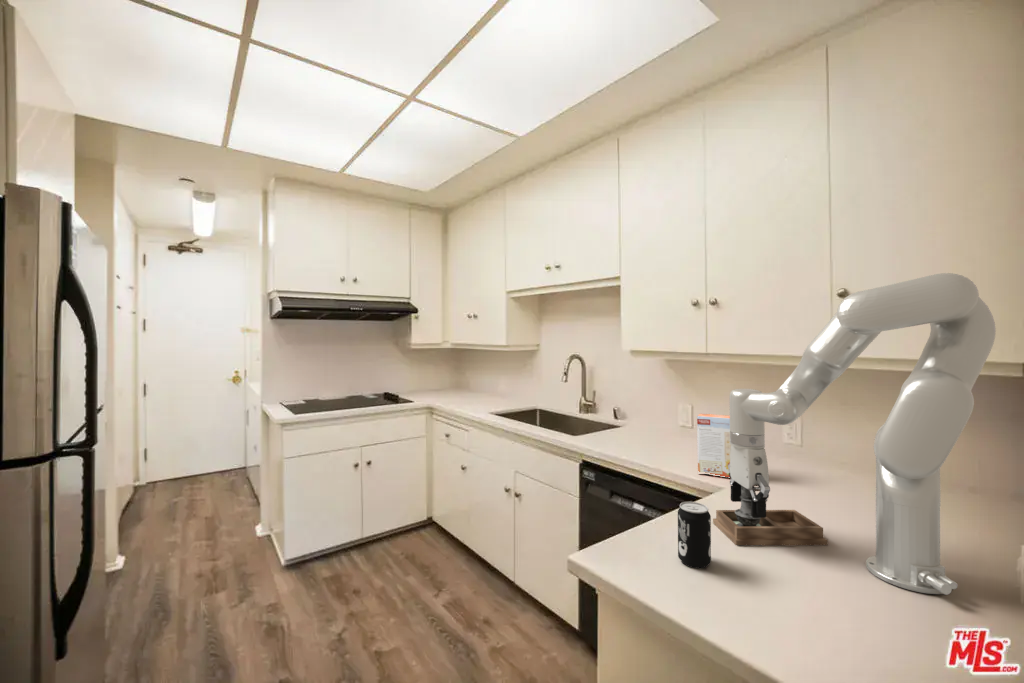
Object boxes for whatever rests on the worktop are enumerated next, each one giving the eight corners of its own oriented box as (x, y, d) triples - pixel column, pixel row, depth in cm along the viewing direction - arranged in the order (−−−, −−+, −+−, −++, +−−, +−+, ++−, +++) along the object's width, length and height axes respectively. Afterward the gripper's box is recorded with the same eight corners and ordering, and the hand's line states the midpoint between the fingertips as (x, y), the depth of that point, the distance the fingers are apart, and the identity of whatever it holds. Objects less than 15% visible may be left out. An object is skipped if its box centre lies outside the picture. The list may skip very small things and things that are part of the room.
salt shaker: (765, 534, 102) (765, 484, 102) (739, 532, 103) (738, 482, 103) (756, 523, 108) (756, 476, 108) (731, 522, 109) (731, 475, 109)
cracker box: (743, 476, 148) (743, 415, 148) (742, 481, 143) (742, 418, 143) (700, 469, 155) (699, 412, 155) (697, 474, 150) (696, 415, 150)
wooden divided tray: (794, 522, 111) (794, 508, 111) (827, 545, 99) (827, 529, 99) (713, 523, 112) (712, 508, 112) (736, 545, 100) (736, 529, 100)
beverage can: (708, 573, 88) (708, 515, 88) (675, 564, 92) (674, 508, 92) (712, 558, 94) (712, 504, 94) (681, 551, 97) (680, 498, 97)
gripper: (784, 448, 96) (784, 524, 97) (744, 431, 114) (744, 495, 114) (750, 448, 97) (751, 524, 97) (715, 431, 114) (716, 496, 114)
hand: (747, 508), depth 105 cm, fingers open, 9 cm apart
